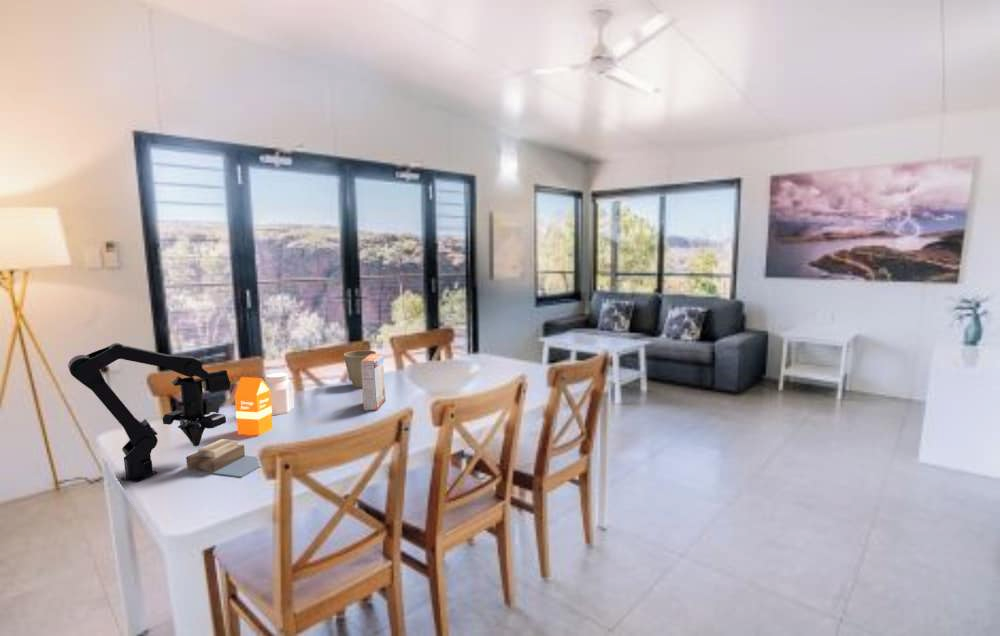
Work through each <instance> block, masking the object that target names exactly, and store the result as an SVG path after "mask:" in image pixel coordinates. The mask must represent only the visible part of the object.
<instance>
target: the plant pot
mask: <svg viewBox="0 0 1000 636" xmlns="http://www.w3.org/2000/svg"><path fill="white" fill-rule="evenodd" d="M370 354H377V352H376V351H374V350H370V349H369V350H366V349H365V350H364V349H363V350H353V351H347V352H345V353H344V354H343V359H344V362H345V367H346V370H347V374H348V376H349V378H350V381H351V383H352V385H353V387H354V388H359V389H360V388H362V373H361V361H362V360H363V359H365V358H366V357H367V356H369V355H370Z"/></svg>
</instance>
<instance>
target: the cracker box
mask: <svg viewBox="0 0 1000 636" xmlns="http://www.w3.org/2000/svg"><path fill="white" fill-rule="evenodd" d="M384 363H385V362H384V354H383V353H376V354H370V355H369V356H367V357H366V358H365V359H363V360H362V361H361V373H362V387H361V388H362V400H363V401H362V402H363V411H378V410H379V408H380V407H382V405H383V404H384V403H385V402H386V382H385V366H384Z"/></svg>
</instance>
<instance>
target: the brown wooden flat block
mask: <svg viewBox="0 0 1000 636" xmlns="http://www.w3.org/2000/svg"><path fill="white" fill-rule="evenodd" d="M244 456H246V454H245V445H243V444H238V447H236V448H234V449H232V450H230V451H228V452H226V453H224V454H222V455H220V456H218V457H216V458H210V457H201V456H198V451H197V452H196V451H195V452H194V453H192V454H190V455H188V456H186V457H185V459H186V470H187V471H193V472H202V473H208V474H209V473H210V474H213V473H214V472H216V471H218V470H220V469H222V468H223V467H225V466H227V465H229V464H231V463H233V462H235V461H237V460H239V459H241V458H242V457H244Z"/></svg>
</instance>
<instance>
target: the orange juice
mask: <svg viewBox="0 0 1000 636" xmlns="http://www.w3.org/2000/svg"><path fill="white" fill-rule="evenodd" d="M234 402H235V415H236V416H235V417H236V427H237V434H238V435H240V434H246V435H245V436H255V435H260V436H262V435H263V433H264V434H266V433H268V432H270V431H271V430H273V415H272V409H271V398H270V390H269V388H268V387H267V385H266V382H265V381H264V379H263V378H262V377H246V376H241V377H240V379H239V382H238V385H237V388H236V391H235V393H234ZM261 434H262V435H261Z"/></svg>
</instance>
